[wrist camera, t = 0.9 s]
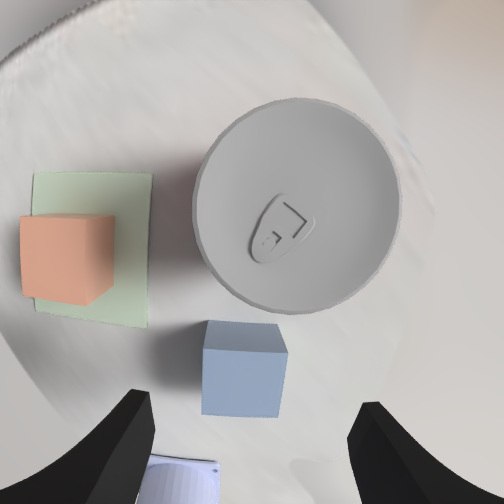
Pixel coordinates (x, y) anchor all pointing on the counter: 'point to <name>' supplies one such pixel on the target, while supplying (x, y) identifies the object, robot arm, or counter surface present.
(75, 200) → the plate
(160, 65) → the counter surface
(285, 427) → the counter surface
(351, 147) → the canned food
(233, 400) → the blue brick
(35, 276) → the terracotta brick
